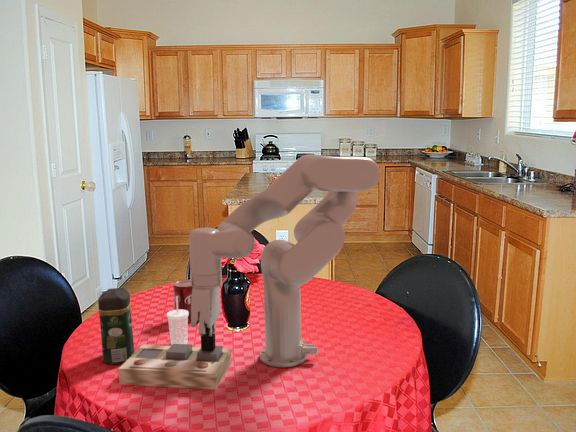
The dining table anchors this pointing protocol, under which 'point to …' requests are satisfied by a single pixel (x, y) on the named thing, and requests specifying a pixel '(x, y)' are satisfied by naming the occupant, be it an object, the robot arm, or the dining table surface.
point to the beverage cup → (178, 325)
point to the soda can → (183, 296)
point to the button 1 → (149, 354)
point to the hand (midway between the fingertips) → (208, 349)
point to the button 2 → (210, 355)
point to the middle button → (179, 352)
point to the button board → (174, 370)
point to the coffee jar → (116, 325)
